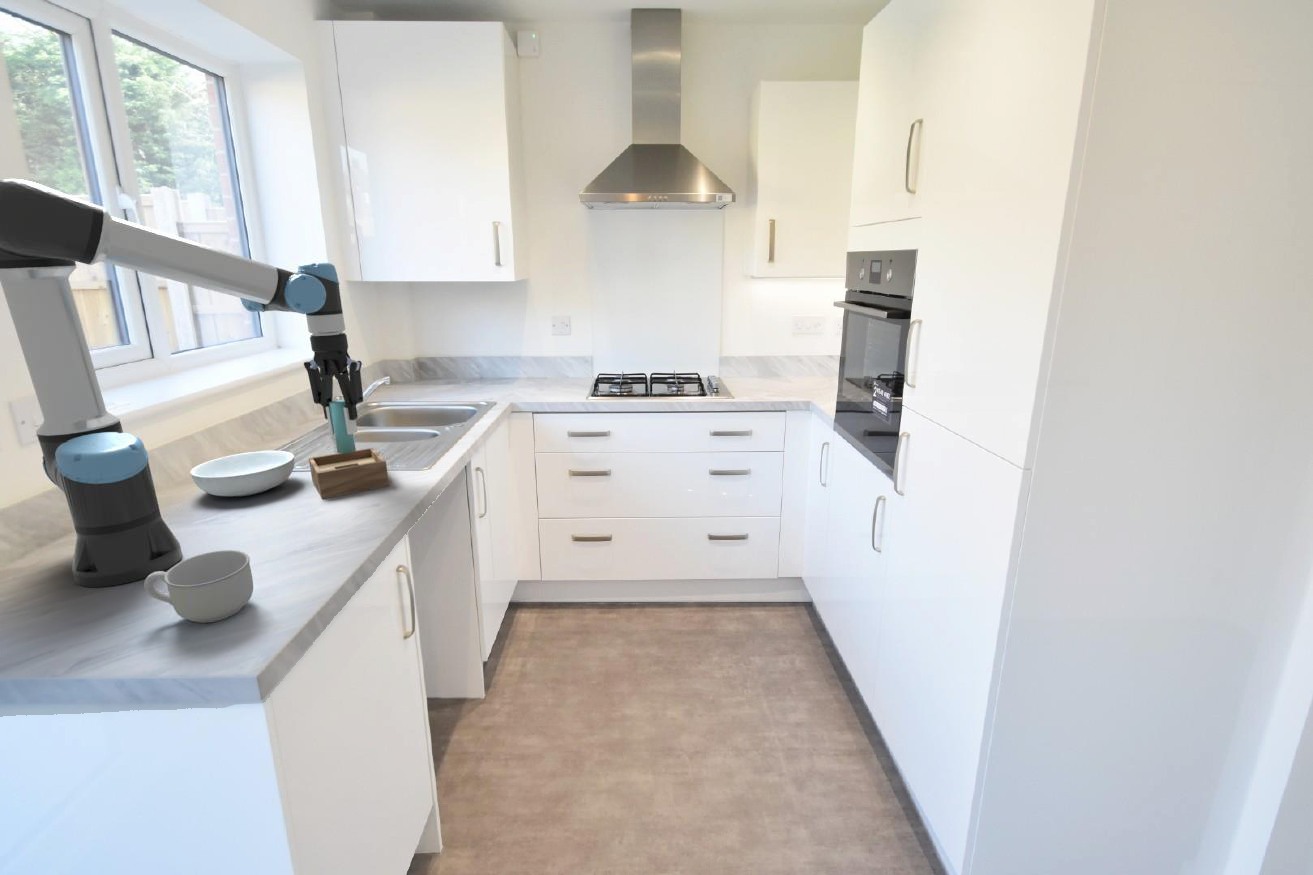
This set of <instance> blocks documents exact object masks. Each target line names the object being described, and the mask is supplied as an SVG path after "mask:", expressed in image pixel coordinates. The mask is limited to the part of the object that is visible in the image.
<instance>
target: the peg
mask: <svg viewBox="0 0 1313 875" xmlns="http://www.w3.org/2000/svg"><path fill="white" fill-rule="evenodd" d="M329 404H330V410H331V416H332V422H333V428H334V434H333V435H334V440H335V445H336V450H337V453H341V454H343V453H351V452H354V451H355V450H357V448H356V442H355V436H354V433H353V434H351V435H347V429H346V423H345V416H344V410H343V407H344V406H345V405H346V404H345V401H344V399H340V400H339V399H337V400H333V401H332V402H330V403H329Z"/></svg>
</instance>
